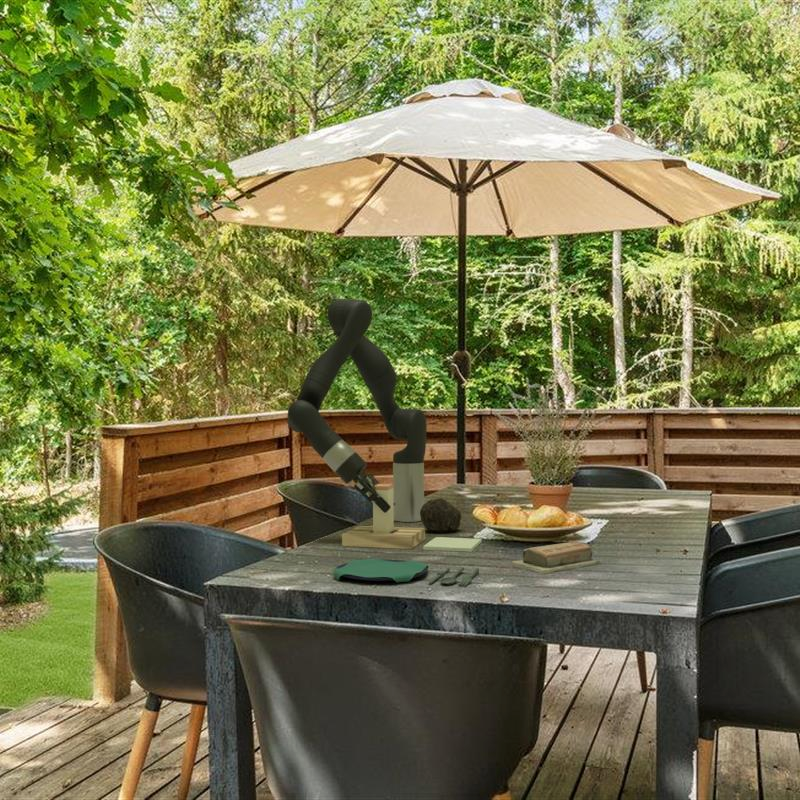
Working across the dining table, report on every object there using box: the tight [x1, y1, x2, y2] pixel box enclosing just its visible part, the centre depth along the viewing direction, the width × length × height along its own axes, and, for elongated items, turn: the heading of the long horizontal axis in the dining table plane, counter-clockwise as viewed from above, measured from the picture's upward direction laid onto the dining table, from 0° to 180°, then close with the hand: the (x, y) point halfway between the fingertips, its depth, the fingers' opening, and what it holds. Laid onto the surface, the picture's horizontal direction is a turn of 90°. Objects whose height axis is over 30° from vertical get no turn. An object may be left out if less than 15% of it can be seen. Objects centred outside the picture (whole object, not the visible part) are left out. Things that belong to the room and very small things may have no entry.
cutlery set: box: [332, 558, 480, 587], centre depth 194 cm, size 20×30×2 cm, turn 72°
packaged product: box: [511, 541, 601, 574], centre depth 206 cm, size 18×5×10 cm
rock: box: [420, 497, 462, 533], centre depth 254 cm, size 10×11×10 cm
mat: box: [422, 536, 482, 553], centre depth 231 cm, size 14×12×1 cm
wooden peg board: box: [341, 525, 426, 550], centre depth 236 cm, size 14×18×3 cm
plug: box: [372, 483, 395, 533], centre depth 236 cm, size 5×4×12 cm
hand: (390, 508), depth 235 cm, fingers closed on plug, 5 cm apart
